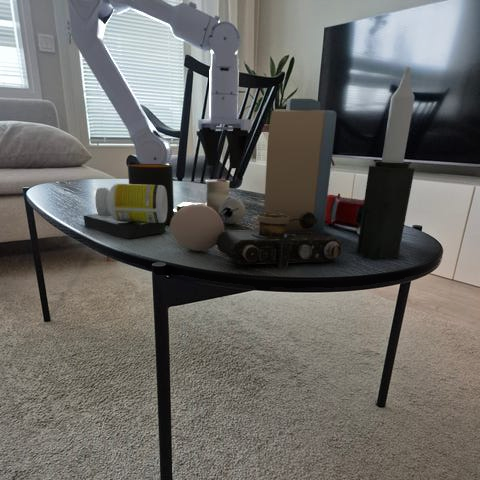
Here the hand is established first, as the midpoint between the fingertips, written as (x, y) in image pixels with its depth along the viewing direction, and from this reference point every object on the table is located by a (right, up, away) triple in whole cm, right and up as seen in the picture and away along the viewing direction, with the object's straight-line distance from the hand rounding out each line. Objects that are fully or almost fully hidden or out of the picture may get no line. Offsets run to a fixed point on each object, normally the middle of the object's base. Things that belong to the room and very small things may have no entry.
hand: (223, 167), depth 90 cm
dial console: (-3, -11, 0) cm, 11 cm away
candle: (+25, -23, -25) cm, 42 cm away
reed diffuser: (0, -17, -13) cm, 21 cm away
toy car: (+26, -12, -7) cm, 30 cm away
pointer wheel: (-1, -9, -2) cm, 9 cm away
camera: (+8, -20, -28) cm, 35 cm away
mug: (-13, -13, -5) cm, 19 cm away
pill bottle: (-9, -13, -19) cm, 25 cm away
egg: (+1, -20, -30) cm, 36 cm away
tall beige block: (+14, -17, -13) cm, 26 cm away
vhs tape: (-17, -17, -14) cm, 28 cm away
